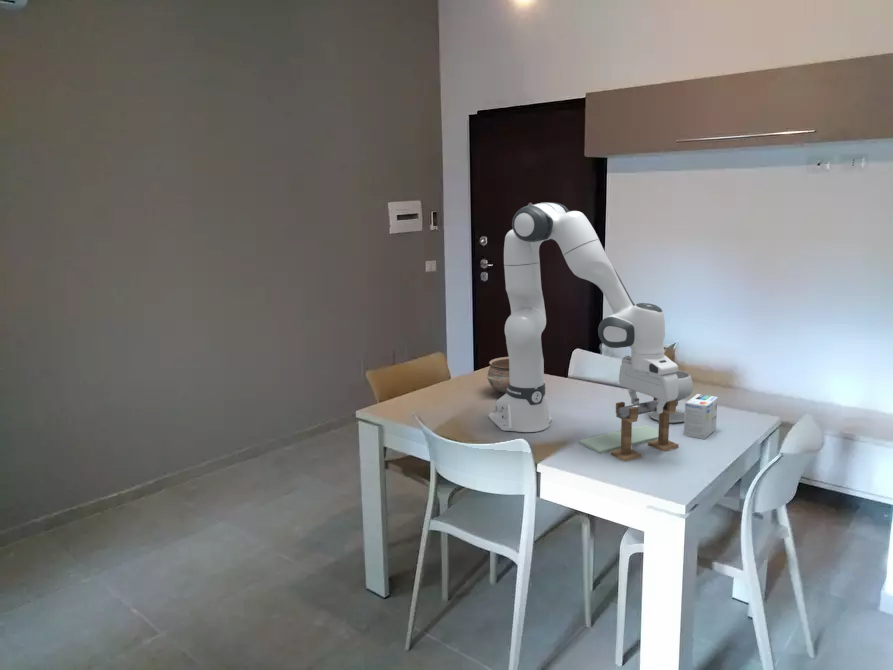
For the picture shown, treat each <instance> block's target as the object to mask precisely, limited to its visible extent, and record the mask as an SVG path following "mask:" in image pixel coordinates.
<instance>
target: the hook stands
mask: <svg viewBox="0 0 893 670" xmlns="http://www.w3.org/2000/svg"><path fill="white" fill-rule="evenodd" d="M653 400H657V398H655V397H653ZM653 400H652V401H653ZM625 406H626V402H624V401H619V402H615V415H616V418H619V417H618V415H617V409H618V408H620V407H625ZM675 411H677V406H676V399H675V400H673V401H668V402H667V409H663V412H662V413H660V414H659V421H658V430H659V432H658V440H654V441H649V442H647V446H649V447H651V448H653V449H656V450H658V451H660V452H663V453H664V452H667V451H672V450H675V449H679V443H676V442H673V441H671V440H669V437H670V435H669V433H670V423H669V414H672V413H675ZM638 418H639V415H638V407H633V408H629V417H626V418H619V419H620V420H621V421H620V422H621V423H620V427H621V428H620V431H621V449H617V450H613V451H610V455H611V456H613V457H615V458H617V459H619V460H620V461H621V460H622V461H623V462H627V461H632V460H635V459H636V460H637V459H640V458H642V453H640V452H638V451H636V450H634V449H632V446H631V435H632V428H633V424H632V423H635V422H638Z"/></svg>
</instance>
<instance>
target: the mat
mask: <svg viewBox="0 0 893 670" xmlns="http://www.w3.org/2000/svg"><path fill="white" fill-rule="evenodd" d="M658 432H659V429H658V428H657V429H656V428H654V427H652V426H649V425H647V424H643V425H639V426H635V427H632V435H631V447H632V446H636V445H641V444H644V443H645V444H646V443H648V442H650V441H654V440H658ZM578 443H579V444H580V445H583V446H585V447H587V448H589V449H591V450H593V451H595V452H597V453H599V454H604V453H607V452H611V451H613V450H617V449H621V430H617V431H613V432H608V433H605V434H599V435H595V436H591V437H587V438H582V439H579V440H578Z"/></svg>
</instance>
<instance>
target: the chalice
mask: <svg viewBox="0 0 893 670" xmlns="http://www.w3.org/2000/svg"><path fill="white" fill-rule="evenodd" d="M674 373H676V375H677V377H678V397H677V399H678V402H680V401H682V400H684V399H687V398H688V397H690V396H691V394H692V393H693V391H694V385H693V384H694V383H693V379H692V376H691V374H689V373H688V372H687V371H685V370H679V369H678V371H677V372H674ZM649 416H650V418H651V419H653V420H655V421H658V422H659V414H658V413H655V412H654V411H653V412H650V415H649ZM684 420H685V412H680V411H678V410H675V413H672V414H669V424H670V423H672V424H673V423H676V424H679V423H682V422H683V423H684Z"/></svg>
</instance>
